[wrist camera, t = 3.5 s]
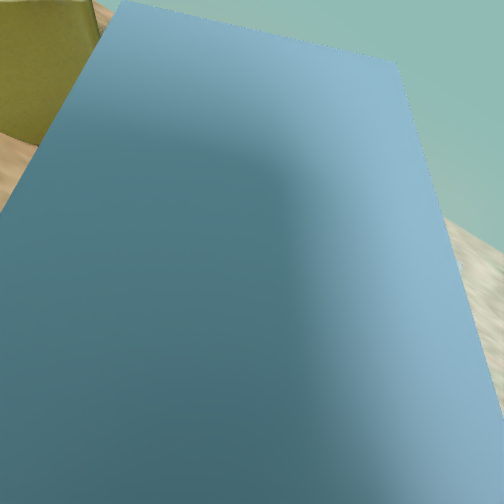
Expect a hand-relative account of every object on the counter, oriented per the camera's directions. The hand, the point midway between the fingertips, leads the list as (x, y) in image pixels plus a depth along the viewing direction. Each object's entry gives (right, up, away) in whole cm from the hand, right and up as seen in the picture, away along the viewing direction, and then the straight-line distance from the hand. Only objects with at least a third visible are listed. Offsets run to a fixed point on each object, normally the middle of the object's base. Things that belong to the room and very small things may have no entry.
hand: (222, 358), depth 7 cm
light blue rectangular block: (-1, -1, +8) cm, 8 cm away
